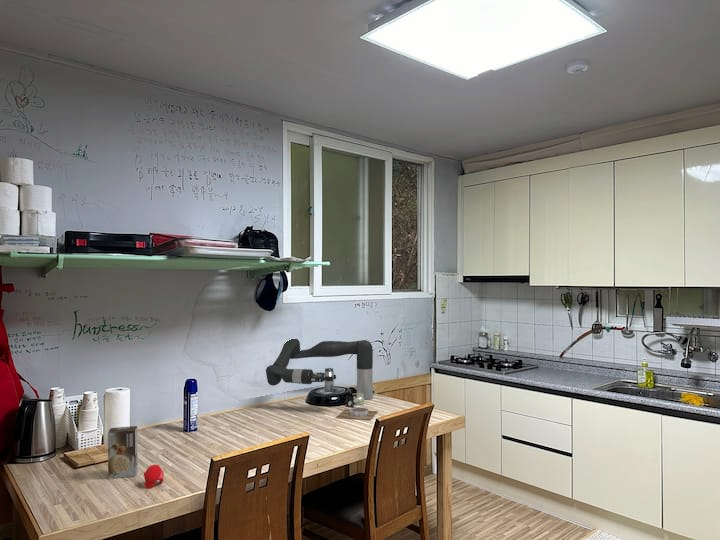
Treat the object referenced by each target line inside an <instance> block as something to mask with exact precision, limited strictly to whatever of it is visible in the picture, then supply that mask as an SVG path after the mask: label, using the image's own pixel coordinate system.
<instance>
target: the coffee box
mask: <svg viewBox="0 0 720 540" xmlns="http://www.w3.org/2000/svg"><path fill="white" fill-rule="evenodd" d="M138 450H139V449H138V425H133V426H132V425H131V426H122V427H121V426H120V427H111V428H110V429H109V430H108V432H107V479H108V478H113V479H118V478H119V479H120V478H130V477H136V476H137V474H138V472H139V469H138V468H139V467H138V464H139V463H138V461H139V460H138V457H139V456H138V455H139V454H138Z"/></svg>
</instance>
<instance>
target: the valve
mask: <svg viewBox="0 0 720 540" xmlns="http://www.w3.org/2000/svg"><path fill="white" fill-rule="evenodd" d="M363 397H364V394H363V393H357V392H356V397H355V398H352V397H351V396H348V397H345V401H344V402H343V403H344V404H345V407H346V408H350V409H351V408H355V405H357V406H364V405H365V404H364V401H365V400H364V398H363Z"/></svg>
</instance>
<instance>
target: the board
mask: <svg viewBox="0 0 720 540" xmlns="http://www.w3.org/2000/svg"><path fill="white" fill-rule="evenodd" d="M349 410H350V409H344V410H342V411H341V412H340V413H339V414H338V415H337V416H336V417H335V419H339V420H353V421H354V420H355V421H370V422H371V421H372V419H374V418H375V416H376V415H377V413H379V411H378V410H369V415H368V416H366V417H352V416H350V415H349Z"/></svg>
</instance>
